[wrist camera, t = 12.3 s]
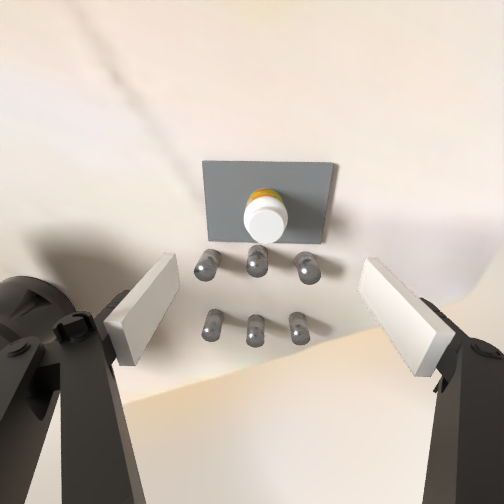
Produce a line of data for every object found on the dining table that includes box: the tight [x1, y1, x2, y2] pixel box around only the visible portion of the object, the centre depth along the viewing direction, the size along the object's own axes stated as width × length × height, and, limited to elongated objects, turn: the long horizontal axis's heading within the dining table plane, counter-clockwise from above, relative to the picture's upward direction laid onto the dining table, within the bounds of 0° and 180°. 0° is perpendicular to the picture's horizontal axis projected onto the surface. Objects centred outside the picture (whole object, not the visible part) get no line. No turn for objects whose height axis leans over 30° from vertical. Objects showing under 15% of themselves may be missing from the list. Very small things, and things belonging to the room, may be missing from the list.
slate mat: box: [202, 161, 334, 244], centre depth 33 cm, size 18×12×1 cm, turn 89°
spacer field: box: [194, 245, 321, 347], centre depth 38 cm, size 19×18×5 cm
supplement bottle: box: [244, 188, 288, 244], centre depth 28 cm, size 5×5×10 cm
